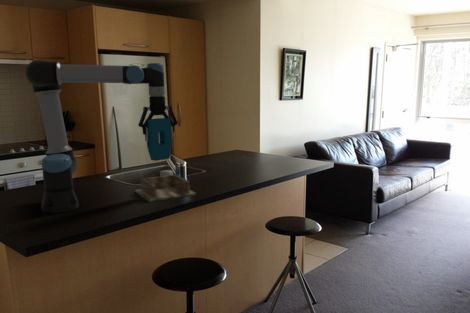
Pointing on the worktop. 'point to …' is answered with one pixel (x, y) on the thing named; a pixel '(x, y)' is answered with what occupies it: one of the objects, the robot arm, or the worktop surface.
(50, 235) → the worktop surface
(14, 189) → the worktop surface
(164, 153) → the block
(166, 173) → the grey rounded piece
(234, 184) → the worktop surface
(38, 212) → the worktop surface
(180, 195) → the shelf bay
